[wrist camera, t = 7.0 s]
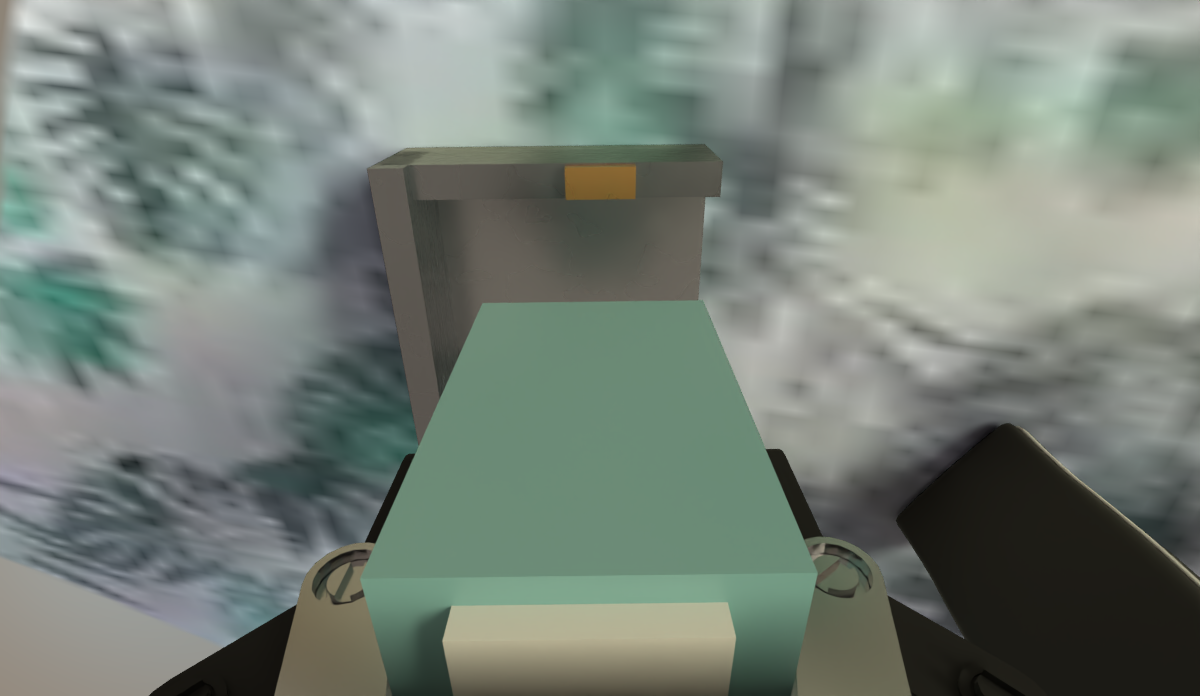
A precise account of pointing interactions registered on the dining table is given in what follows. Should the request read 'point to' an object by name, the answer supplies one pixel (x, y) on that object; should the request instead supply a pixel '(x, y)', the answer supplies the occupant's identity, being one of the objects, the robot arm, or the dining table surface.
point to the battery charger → (1055, 575)
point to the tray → (531, 237)
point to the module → (591, 518)
